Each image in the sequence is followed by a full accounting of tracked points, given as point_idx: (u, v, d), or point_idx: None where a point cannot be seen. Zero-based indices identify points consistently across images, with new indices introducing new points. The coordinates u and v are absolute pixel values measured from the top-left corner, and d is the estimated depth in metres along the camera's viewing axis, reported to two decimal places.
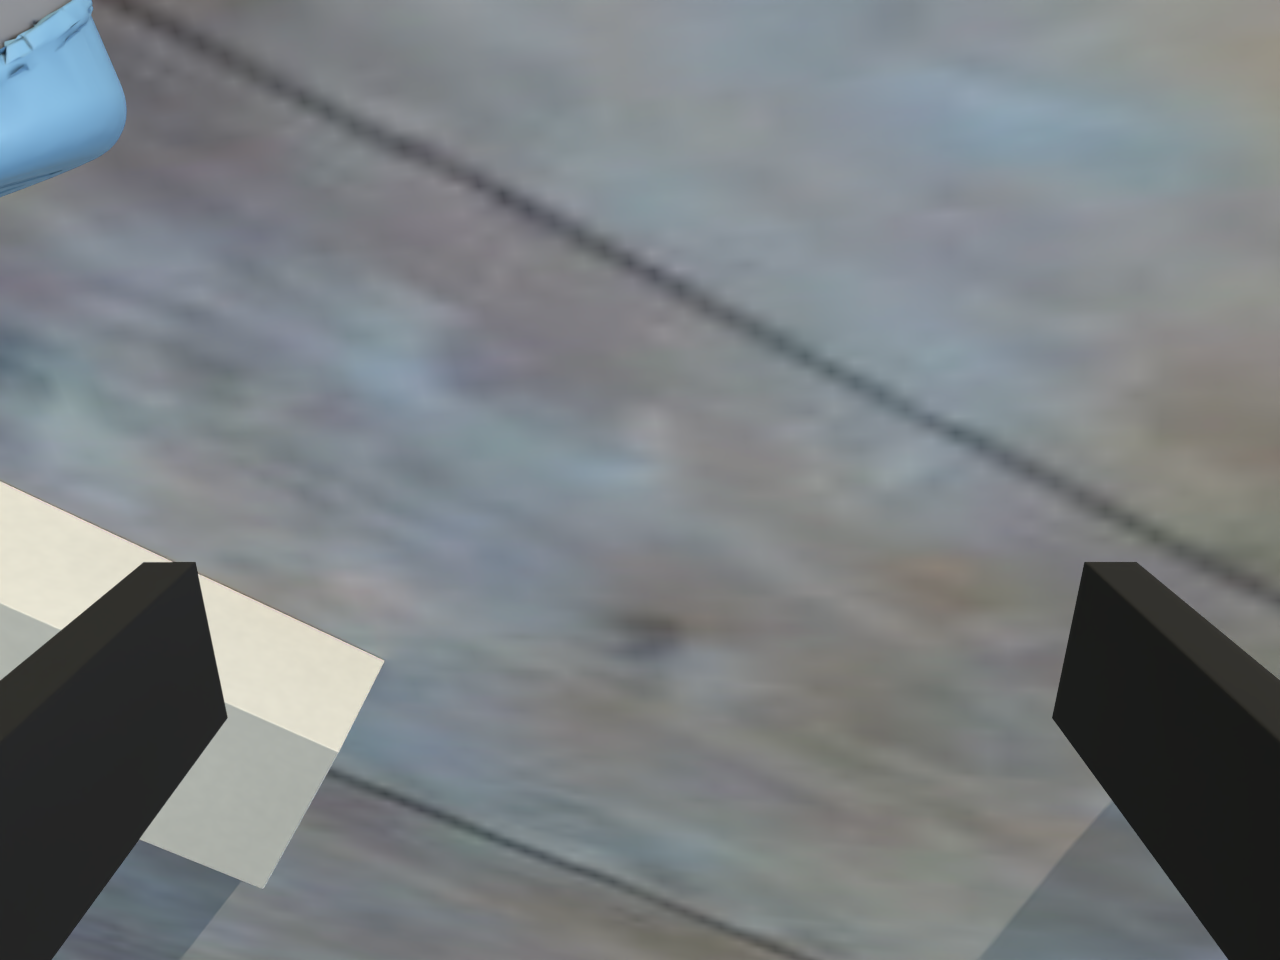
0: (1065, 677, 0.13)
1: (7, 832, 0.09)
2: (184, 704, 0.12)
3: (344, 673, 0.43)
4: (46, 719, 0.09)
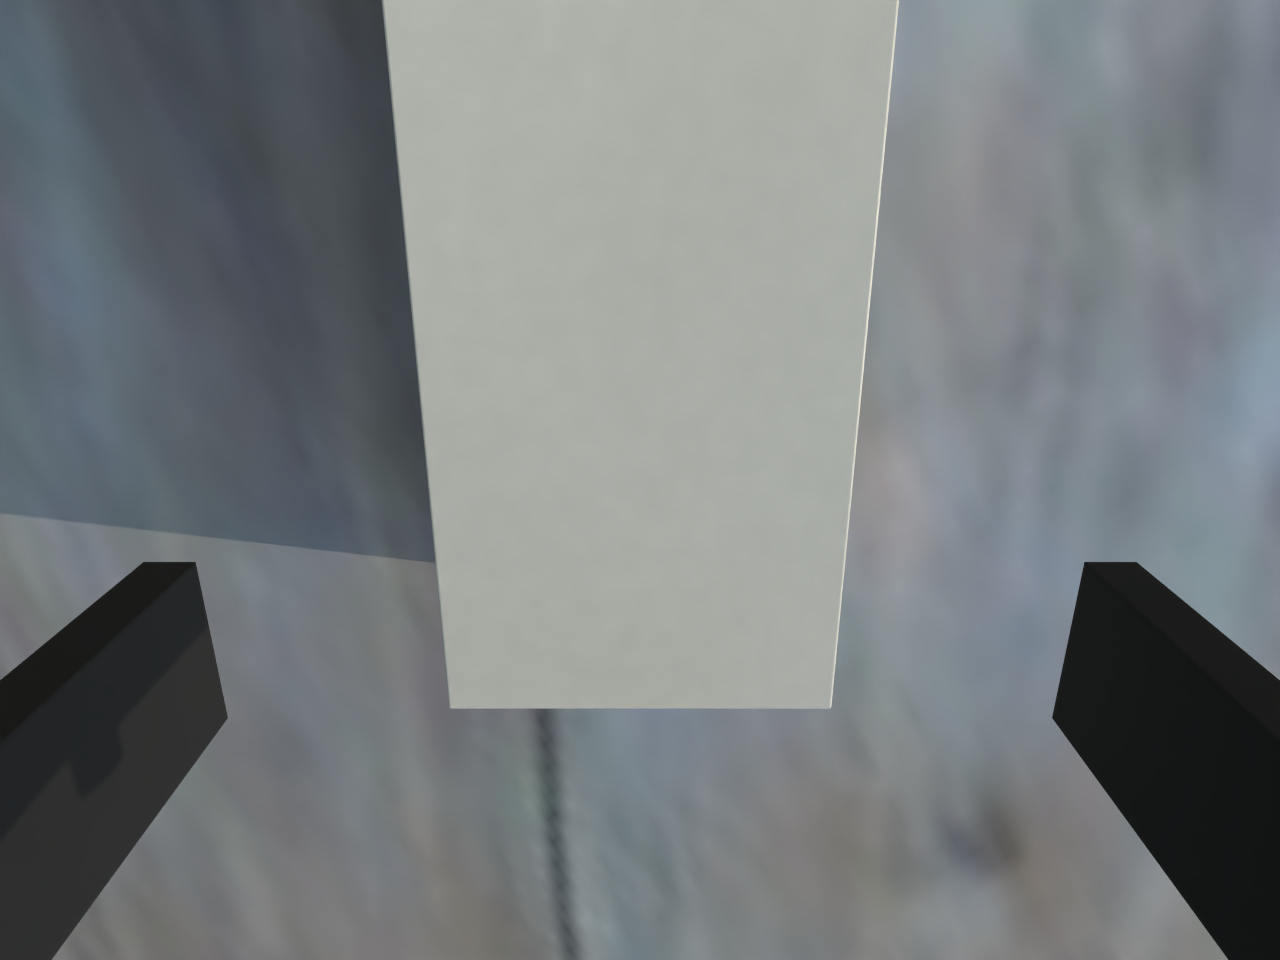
0: (1065, 677, 0.13)
1: (6, 832, 0.09)
2: (184, 704, 0.12)
3: None
4: (45, 719, 0.09)
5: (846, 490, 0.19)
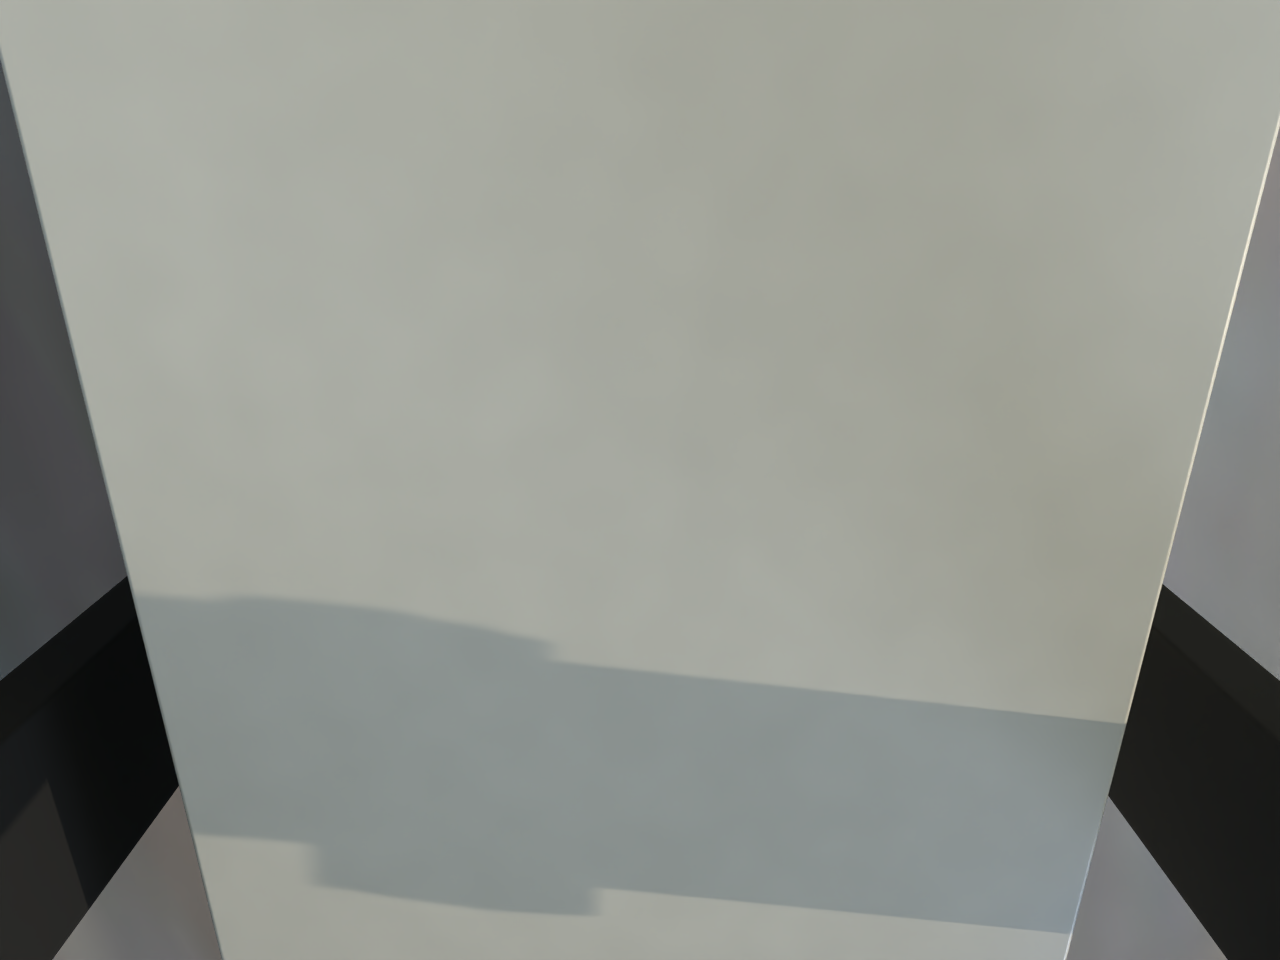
0: None
1: (8, 831, 0.09)
2: None
3: None
4: (47, 718, 0.09)
5: (1080, 860, 0.09)
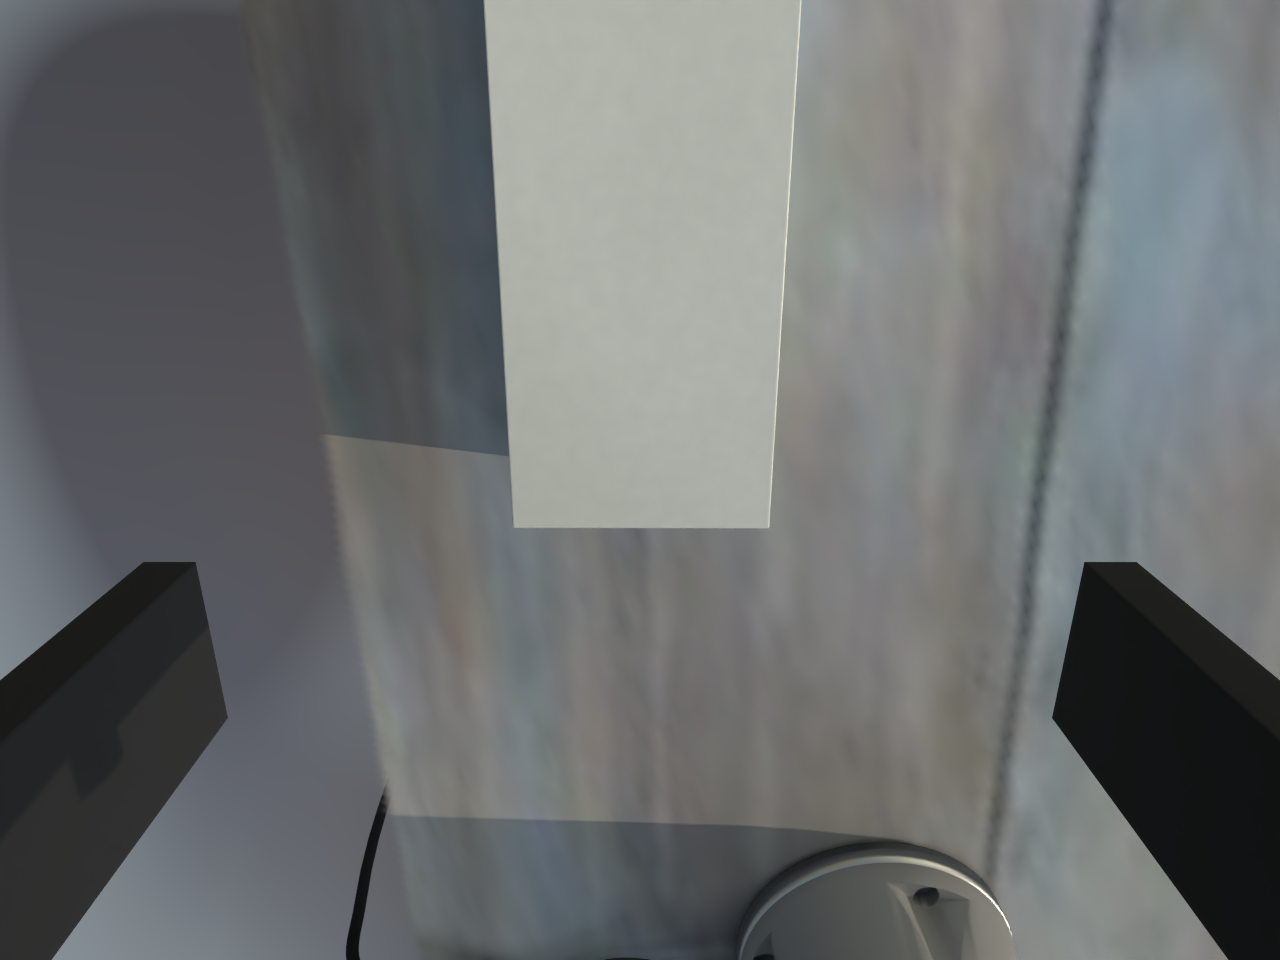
0: (1065, 677, 0.13)
1: (6, 832, 0.09)
2: (184, 704, 0.12)
3: None
4: (45, 719, 0.09)
5: (774, 374, 0.29)
